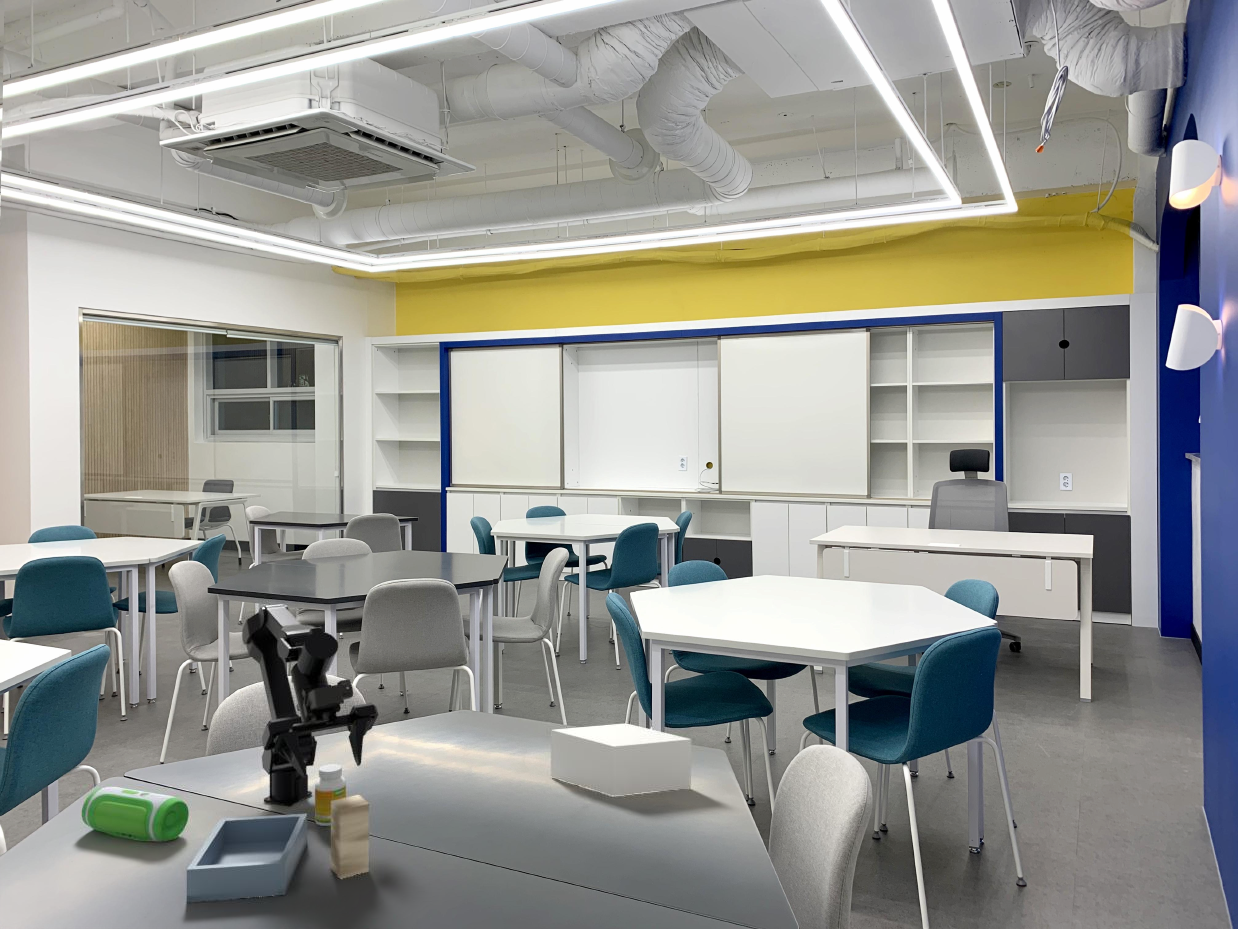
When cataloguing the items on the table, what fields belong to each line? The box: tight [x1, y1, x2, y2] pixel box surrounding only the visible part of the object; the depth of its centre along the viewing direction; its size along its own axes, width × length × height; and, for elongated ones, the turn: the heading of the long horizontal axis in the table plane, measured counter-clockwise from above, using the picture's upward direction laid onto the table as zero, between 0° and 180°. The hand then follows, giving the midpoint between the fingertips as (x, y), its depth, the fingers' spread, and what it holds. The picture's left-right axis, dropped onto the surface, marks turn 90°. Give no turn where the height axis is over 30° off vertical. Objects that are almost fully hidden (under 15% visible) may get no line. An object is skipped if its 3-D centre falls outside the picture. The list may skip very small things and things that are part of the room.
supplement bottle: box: [314, 763, 347, 827], centre depth 159 cm, size 5×5×10 cm
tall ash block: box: [330, 794, 370, 880], centre depth 141 cm, size 5×5×11 cm
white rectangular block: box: [550, 723, 692, 795], centre depth 178 cm, size 14×29×10 cm, turn 80°
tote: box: [186, 813, 308, 904], centre depth 140 cm, size 18×14×5 cm
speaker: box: [81, 786, 189, 842], centre depth 153 cm, size 18×7×8 cm, turn 72°
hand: (332, 770), depth 147 cm, fingers open, 9 cm apart
